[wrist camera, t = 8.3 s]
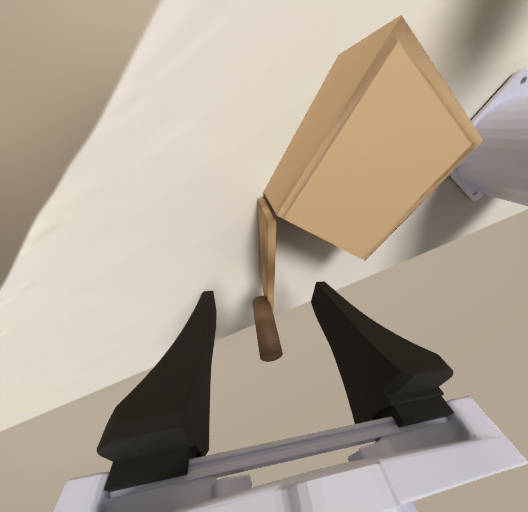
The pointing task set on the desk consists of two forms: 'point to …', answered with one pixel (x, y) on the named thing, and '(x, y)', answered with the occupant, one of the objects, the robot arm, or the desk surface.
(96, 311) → the desk surface
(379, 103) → the carton
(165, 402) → the robot arm
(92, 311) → the desk surface
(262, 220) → the wooden paddle
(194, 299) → the desk surface
